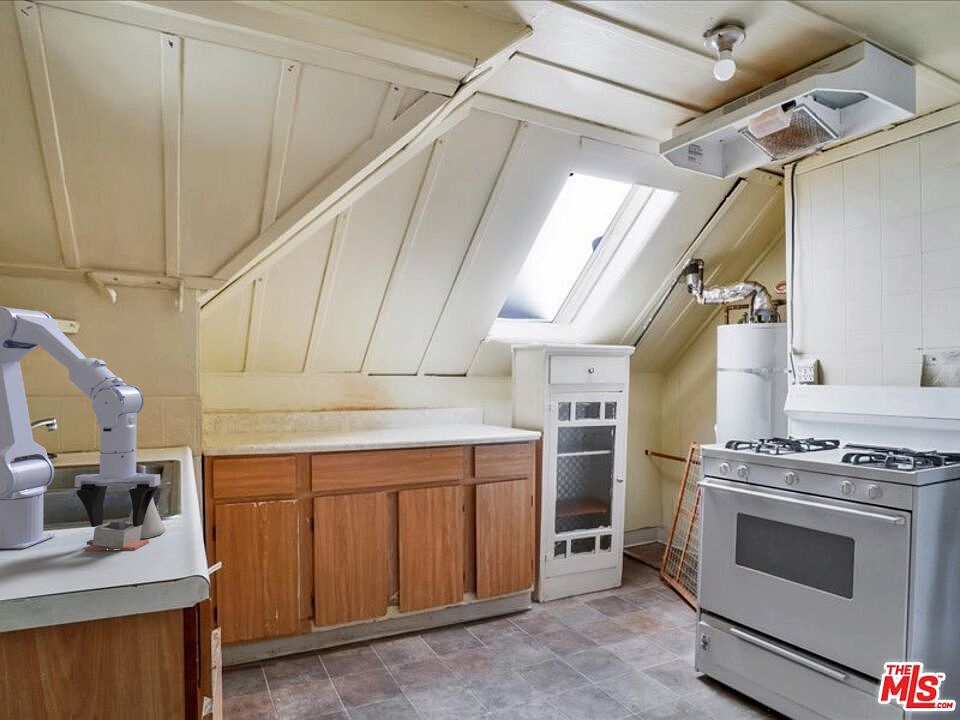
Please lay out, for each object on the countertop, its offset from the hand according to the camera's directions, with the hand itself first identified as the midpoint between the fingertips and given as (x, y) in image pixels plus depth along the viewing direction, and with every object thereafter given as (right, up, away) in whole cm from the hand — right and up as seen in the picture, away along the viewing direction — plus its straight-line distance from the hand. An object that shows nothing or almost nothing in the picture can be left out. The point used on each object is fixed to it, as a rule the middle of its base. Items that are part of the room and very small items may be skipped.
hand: (117, 525), depth 107 cm
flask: (0, -4, +7) cm, 9 cm away
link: (0, -3, 0) cm, 3 cm away
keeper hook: (0, -4, 0) cm, 4 cm away
